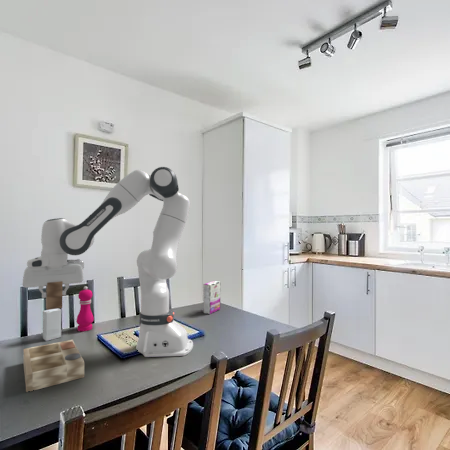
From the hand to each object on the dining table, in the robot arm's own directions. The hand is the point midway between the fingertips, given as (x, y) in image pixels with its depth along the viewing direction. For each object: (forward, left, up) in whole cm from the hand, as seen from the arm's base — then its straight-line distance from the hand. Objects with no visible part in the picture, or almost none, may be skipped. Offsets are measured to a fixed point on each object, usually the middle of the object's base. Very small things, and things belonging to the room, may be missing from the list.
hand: (54, 296), depth 115 cm
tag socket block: (-9, +14, -21) cm, 27 cm away
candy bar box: (-54, -60, -21) cm, 84 cm away
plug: (0, 0, -4) cm, 4 cm away
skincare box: (+9, -12, -21) cm, 26 cm away
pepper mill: (+1, -24, -21) cm, 32 cm away
